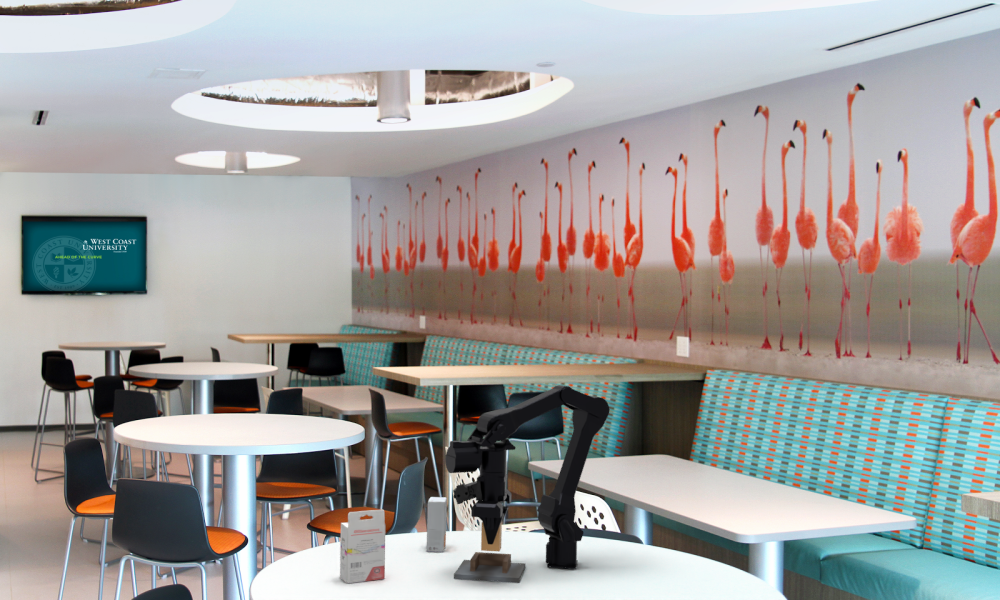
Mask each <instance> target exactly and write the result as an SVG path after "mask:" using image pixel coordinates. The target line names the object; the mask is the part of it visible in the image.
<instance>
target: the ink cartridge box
mask: <svg viewBox="0 0 1000 600" xmlns="http://www.w3.org/2000/svg"><path fill="white" fill-rule="evenodd" d="M366 516H368V517H371V518H368V519H367V518H365V519H361V518H362V517H366ZM385 521H386V520H385V510H384V509H370V510H359V511H349V512H348V514H347V522H340V542H339V543H340V544H339V545H340V547H339V550H340V551H339V553H340V554H339V555H340V557H339V558H340V559H339V578H340V579H341V580H342V581H343V582H345V584H352V583H353V584H355V583H356V584H357V583H362V582H371V581H378V580H384V579H385V576H386V571H385V570H386V523H385Z"/></svg>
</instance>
